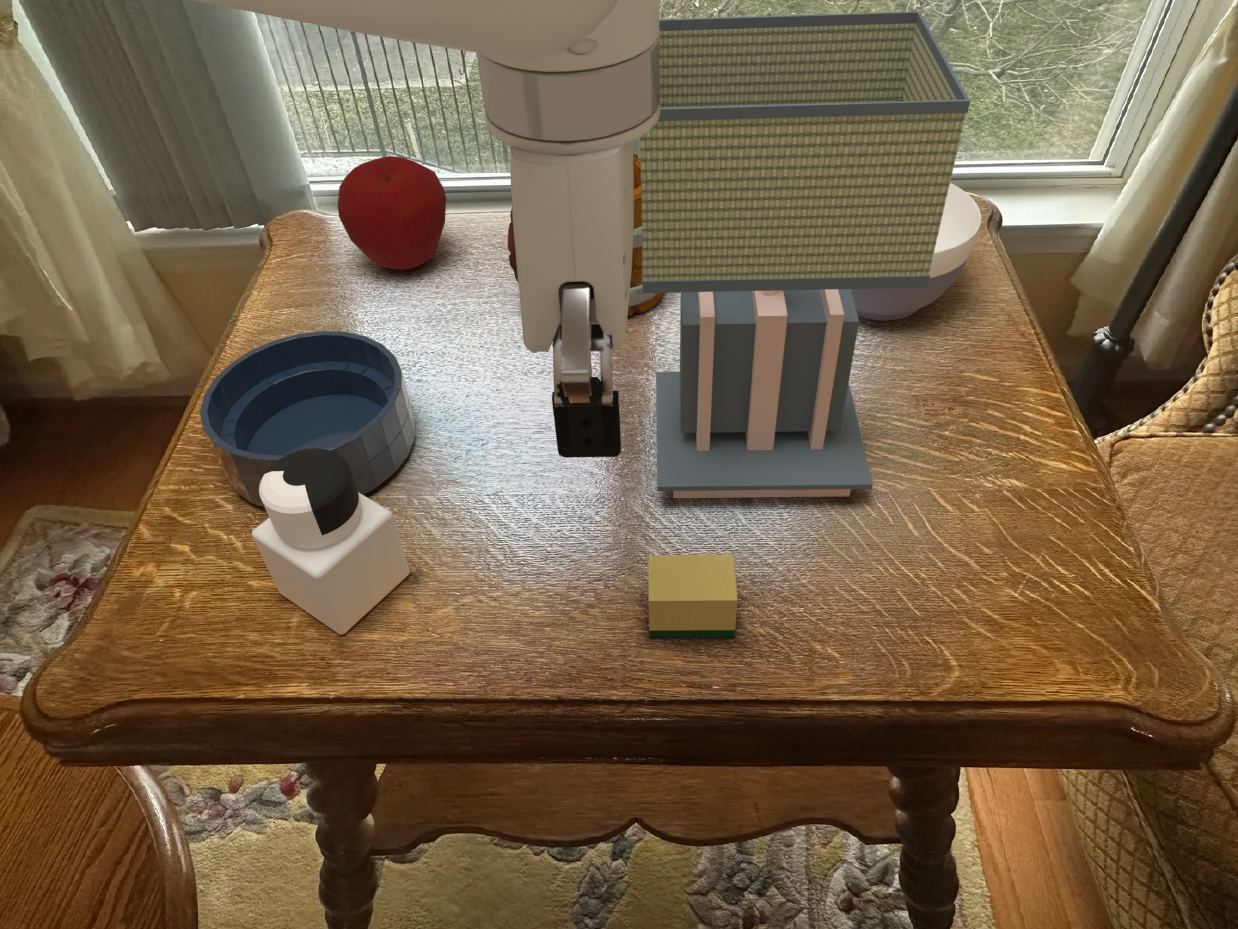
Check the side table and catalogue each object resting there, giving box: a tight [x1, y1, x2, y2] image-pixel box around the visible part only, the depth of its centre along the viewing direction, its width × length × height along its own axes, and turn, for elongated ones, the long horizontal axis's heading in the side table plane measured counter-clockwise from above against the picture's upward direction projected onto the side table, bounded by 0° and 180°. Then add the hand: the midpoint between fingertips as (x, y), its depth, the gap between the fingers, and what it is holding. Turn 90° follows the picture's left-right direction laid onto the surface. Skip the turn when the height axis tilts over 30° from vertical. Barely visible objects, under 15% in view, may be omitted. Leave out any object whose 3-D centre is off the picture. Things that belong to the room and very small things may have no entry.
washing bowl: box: [199, 330, 416, 508], centre depth 80 cm, size 16×16×6 cm
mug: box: [507, 153, 665, 318], centre depth 91 cm, size 11×16×15 cm, turn 113°
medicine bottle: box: [251, 448, 411, 636], centre depth 67 cm, size 7×7×12 cm
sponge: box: [647, 554, 739, 640], centre depth 66 cm, size 6×4×4 cm, turn 89°
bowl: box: [851, 182, 982, 322], centre depth 92 cm, size 16×16×10 cm
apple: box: [337, 155, 447, 271], centre depth 98 cm, size 11×11×12 cm
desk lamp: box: [639, 10, 971, 499], centre depth 68 cm, size 18×14×33 cm
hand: (593, 391), depth 52 cm, fingers open, 9 cm apart
